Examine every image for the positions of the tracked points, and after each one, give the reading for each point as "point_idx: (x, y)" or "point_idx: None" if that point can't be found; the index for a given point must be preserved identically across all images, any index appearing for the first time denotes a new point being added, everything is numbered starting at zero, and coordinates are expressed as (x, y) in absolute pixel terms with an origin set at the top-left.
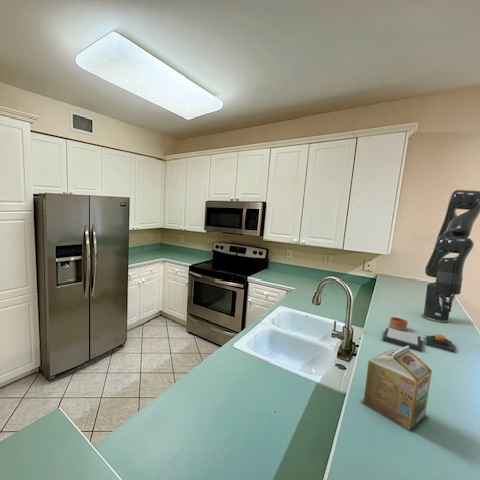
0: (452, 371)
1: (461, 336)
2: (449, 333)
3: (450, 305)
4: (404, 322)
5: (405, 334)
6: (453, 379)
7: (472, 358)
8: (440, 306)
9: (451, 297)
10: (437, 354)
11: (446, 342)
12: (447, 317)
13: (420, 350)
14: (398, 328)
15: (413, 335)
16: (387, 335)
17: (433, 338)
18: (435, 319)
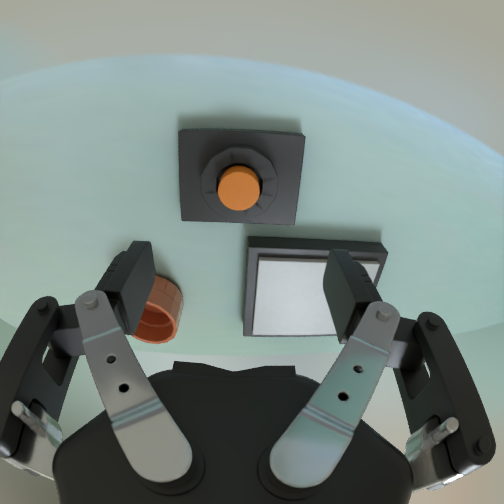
0: (470, 184)
1: (34, 106)
2: (35, 142)
3: (465, 378)
4: (165, 310)
5: (288, 295)
6: (500, 195)
7: (314, 78)
8: (134, 334)
9: (190, 478)
10: (369, 195)
11: (271, 163)
12: (353, 268)
13: (382, 245)
14: (182, 300)
15: (277, 273)
16: None
17: (263, 211)
18: None
